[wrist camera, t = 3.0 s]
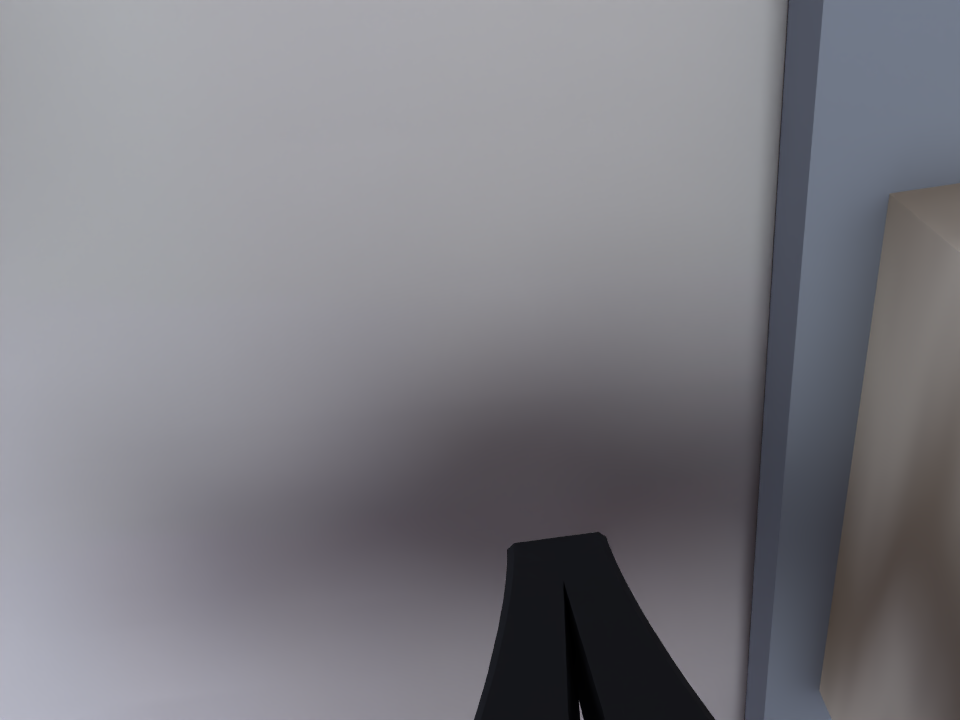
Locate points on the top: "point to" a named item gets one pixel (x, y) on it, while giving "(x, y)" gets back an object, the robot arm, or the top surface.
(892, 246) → the maple T block
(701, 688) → the top surface
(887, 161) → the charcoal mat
